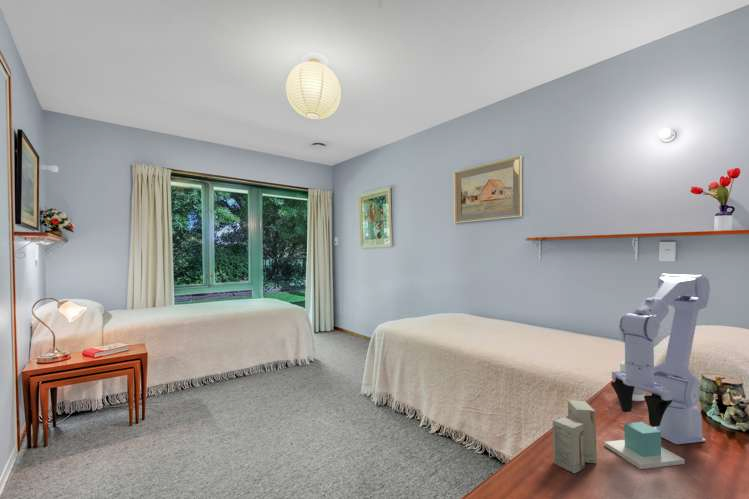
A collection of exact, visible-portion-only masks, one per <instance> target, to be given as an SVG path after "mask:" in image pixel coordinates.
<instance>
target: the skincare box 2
mask: <svg viewBox="0 0 749 499" xmlns="http://www.w3.org/2000/svg"><path fill="white" fill-rule="evenodd" d="M567 418H569V419H572V420H574V421H577V422H579V423H582V424H583V434H584V461H585V463H588V464H590V463H591V464H598V459H597V458H598V457H597V429H596V428H597V426H596V425H597V423H596V410H595V408H593V406H591V405H590V403H588V402H587V401H586V400H585V401H584V400H574V399H573V400H571V399H570V400H569V399H568V400H567Z"/></svg>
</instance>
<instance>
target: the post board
mask: <svg viewBox="0 0 749 499" xmlns="http://www.w3.org/2000/svg"><path fill="white" fill-rule="evenodd" d="M604 447H606V448H607V449H609V450H611V451H612V452H613V453H615V454H617V455H618V456H620V457H621V458H623V459H624V460H626V461H627V462H629V463H630V464H632V465H634V467H636V468H638V469H640V470H644V469H651V468H653V469H654V468H662V467H670V466H677V465H686V464H685V463H686V462H685V458H682V457H681V456H679V455H677V454H675V453H674V452H672V451H670V450H668V449H666V448H665V447H664V446H661V455H657V456H648V457H642V456H641V455H639V454H637V453H636V452H634V451H632V450H631V449H629V448H628V447H626V446H625V439H619V440H608V441H604Z"/></svg>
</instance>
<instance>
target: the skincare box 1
mask: <svg viewBox="0 0 749 499" xmlns="http://www.w3.org/2000/svg"><path fill="white" fill-rule="evenodd" d="M552 440H553V442H552V443H553V444H552V445H553V464H554V465H556V466H559V467H561V468H562V469H565V470H566V471H569V472H570V473H573V474H576V473H578V472H581V471H583V470H584V469H585V468H586V464H585V463H586V462H585V461H584V434H583V424H582V423H579V422H577V421H574V420H572V419H569V418H568V417H566V416H561V417H557V418H554V419H552Z"/></svg>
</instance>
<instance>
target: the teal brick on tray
mask: <svg viewBox="0 0 749 499" xmlns="http://www.w3.org/2000/svg"><path fill="white" fill-rule="evenodd" d="M623 424H624V425H623V426H624V440H625V446H626V447H628V448H629V449H631V450H632V451H634V452H636V453H637V454H639V455H641V456H642V457H648V456H657V455H661V447H662V437H661V432H660V431H658V430H656V429H654V428H652V427H653V426H651V425H650V424H649V425H648V424H646V423H644V422H643V421H639V422H637V421H636V422H627V423H623Z"/></svg>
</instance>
